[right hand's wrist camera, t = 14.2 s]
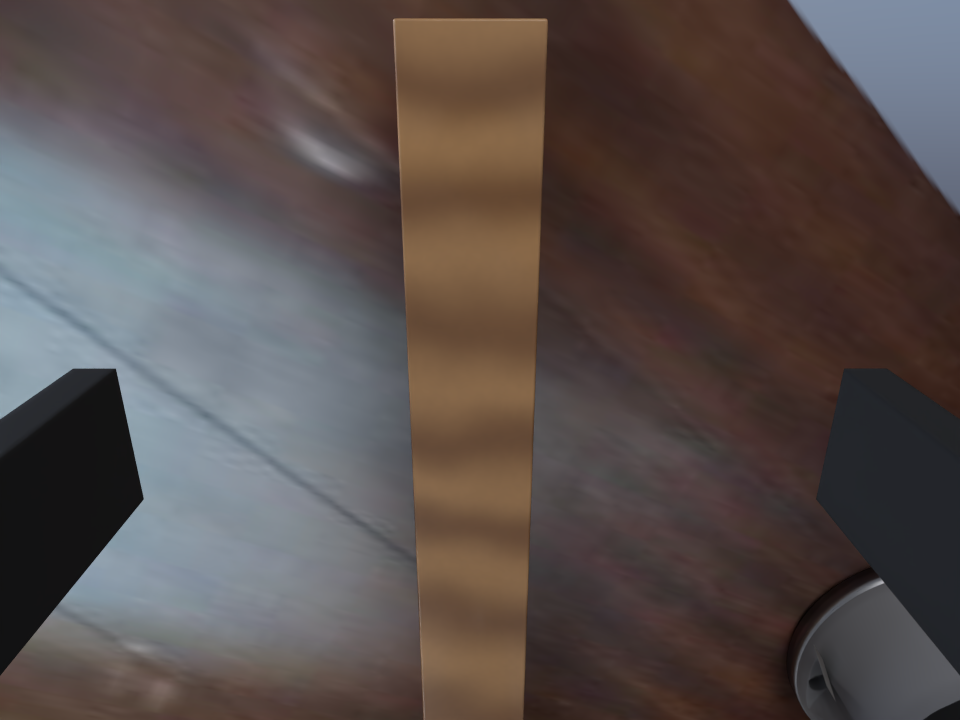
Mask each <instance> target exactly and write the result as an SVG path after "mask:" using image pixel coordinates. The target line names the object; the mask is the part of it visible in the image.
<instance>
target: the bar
mask: <svg viewBox="0 0 960 720" xmlns="http://www.w3.org/2000/svg"><path fill="white" fill-rule="evenodd" d="M393 31H394V54H395V77H396V100H397V123H398V146H399V169H400V192H401V215H402V238H403V261H404V284H405V307H406V330H407V353H408V376H409V399H410V422H411V445H412V468H413V491H414V514H415V537H416V560H417V583H418V607H419V630H420V653H421V676H422V699H423V720H523V717H524V688H525V660H526V632H527V603H528V575H529V546H530V518H531V490H532V461H533V433H534V405H535V376H536V348H537V320H538V291H539V263H540V235H541V206H542V178H543V150H544V121H545V93H546V64H547V36H548V20H547V19H479V18H395V19H394V20H393Z"/></svg>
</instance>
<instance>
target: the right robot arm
mask: <svg viewBox="0 0 960 720" xmlns="http://www.w3.org/2000/svg"><path fill="white" fill-rule="evenodd" d="M143 499H144V498H143V493H142V489H141V484H140V479H139V475H138V470H137V465H136V461H135V456H134V451H133V447H132V442H131V437H130V433H129V428H128V423H127V419H126V414H125V409H124V405H123V400H122V395H121V391H120V386H119V381H118V377H117V372H116V369H72V370H71V371H69V372H68V373H66V374H65V375H63V376H62V377H61V378H59V379H58V380H56V381H55V382H53V383H52V384H51V385H49V386H48V387H46V388H45V389H43V390H42V391H40V392H39V393H38V394H36V395H35V396H33V397H32V398H30V399H29V400H28V401H26V402H25V403H23V404H22V405H20V406H19V407H17V408H16V409H15V410H13V411H12V412H10V413H9V414H7V415H6V416H4V417H3V418H2V419H0V675H1V674H2V673H3V671H4V670H5V669H6V668H7V667H8V665H9V664H10V663H11V662H12V660H13V659H14V658H15V657H16V656H17V654H18V653H19V652H20V651H21V649H22V648H23V647H24V646H25V644H26V643H27V642H28V641H29V640H30V638H31V637H32V636H33V635H34V633H35V632H36V631H37V630H38V628H39V627H40V626H41V625H42V624H43V622H44V621H45V620H46V619H47V617H48V616H49V615H50V614H51V613H52V611H53V610H54V609H55V608H56V606H57V605H58V604H59V603H60V601H61V600H62V599H63V598H64V597H65V595H66V594H67V593H68V592H69V590H70V589H71V588H72V587H73V585H74V584H75V583H76V582H77V581H78V579H79V578H80V577H81V576H82V574H83V573H84V572H85V571H86V570H87V568H88V567H89V566H90V565H91V563H92V562H93V561H94V560H95V558H96V557H97V556H98V555H99V554H100V552H101V551H102V550H103V549H104V547H105V546H106V545H107V544H108V542H109V541H110V540H111V539H112V538H113V536H114V535H115V534H116V533H117V531H118V530H119V529H120V528H121V527H122V525H123V524H124V523H125V522H126V520H127V519H128V518H129V517H130V515H131V514H132V513H133V512H134V511H135V509H136V508H137V507H138V506H139V504H140V503H141V502H142V501H143ZM816 499H817V501H818V502H819V503H820V504H821V506H822V507H823V508H824V509H825V511H826V512H827V513H828V514H829V515H830V517H831V518H832V519H833V520H834V522H835V523H836V524H837V525H838V527H839V528H840V529H841V530H842V531H843V533H844V534H845V535H846V536H847V538H848V539H849V540H850V541H851V542H852V544H853V545H854V546H855V547H856V549H857V550H858V551H859V552H860V554H861V555H862V556H863V557H864V558H865V560H866V561H867V562H868V563H869V565H870V566H871V567H872V568H869V569H867V570H864V571H862V572H860V573H858V574H856V575H854V576H852V577H850V578H848V579H846V580H845V581H843V582H841V583H840V584H838V585H837V586H835V587H834V588H832V589H831V590H830V591H829V592H827V593H826V594H825V595H824V596H822V597H821V598H820V599H819V600H818V601H817V602H816V603H815V604H814V605H813V606H812V607H811V608H810V609H809V611H808V612H807V613H806V614H805V616H804V617H803V618H802V620H801V621H800V623H799V624H798V626H797V628H796V630H795V632H794V634H793V636H792V639H791V641H790V644H789V648H788V653H787V673H788V678H789V681H790V684H791V686H792V688H793V691H794V693H795V694H796V696H797V698H798V700H799V702H800V704H801V706H802V708H803V710H804V711H805V713H806V714H807V716H808V717H809V718H810V719H811V720H960V419H958V418H957V417H956V416H954V415H953V414H951V413H950V412H948V411H947V410H945V409H944V408H943V407H941V406H940V405H938V404H937V403H935V402H934V401H932V400H931V399H930V398H928V397H927V396H925V395H924V394H922V393H921V392H920V391H918V390H917V389H915V388H914V387H912V386H911V385H909V384H908V383H907V382H905V381H904V380H902V379H901V378H899V377H898V376H897V375H895V374H894V373H892V372H891V371H889V370H888V369H844V372H843V377H842V381H841V386H840V391H839V395H838V400H837V405H836V409H835V414H834V419H833V423H832V428H831V433H830V437H829V442H828V447H827V451H826V456H825V461H824V465H823V470H822V475H821V479H820V484H819V489H818V493H817V498H816Z"/></svg>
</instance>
